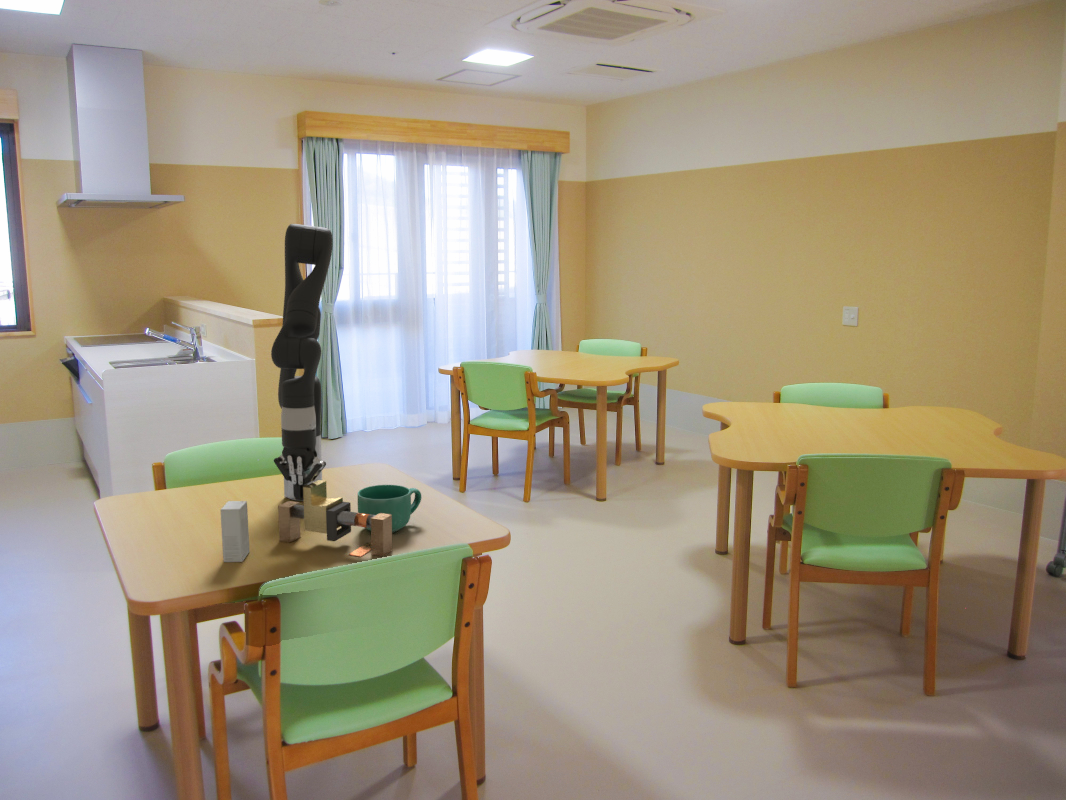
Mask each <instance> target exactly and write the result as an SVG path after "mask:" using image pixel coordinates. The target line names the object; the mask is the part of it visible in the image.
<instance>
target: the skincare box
mask: <svg viewBox="0 0 1066 800" xmlns="http://www.w3.org/2000/svg"><path fill="white" fill-rule="evenodd" d="M248 515H249V514H248V501H247V500H227V502H226V503H225V504H224V505H223V506H222V507H221V508H220V524H221V527H220V528H221V541H222V559H223V560H222V561H223V562H224V563H243V562H244V560H245V558H246V557H247V556H248V555H249V553H250V535H249V534H250V533H249V519H248V518H249V516H248Z"/></svg>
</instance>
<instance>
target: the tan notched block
mask: <svg viewBox="0 0 1066 800" xmlns="http://www.w3.org/2000/svg"><path fill="white" fill-rule="evenodd" d="M303 496H304V501H303V506H304V519H303V520H304V521H303V522H304V523H303V525H304V531H306V532H311V533H312V532H313V533H320V534H326V535H327V525H326V510H328V509H330V508H332V507H333V506H335V505H337V504H339V503H341V502H344V500H343V497H342V496H338V497H336V498H332V497H327V496H328V494H327V480H323V479H322V480H318V481H315V482H313V483H311V484H309V485H307V486H304V487H303ZM338 528H339V529H340V528H341V524H337V529H338Z"/></svg>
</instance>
